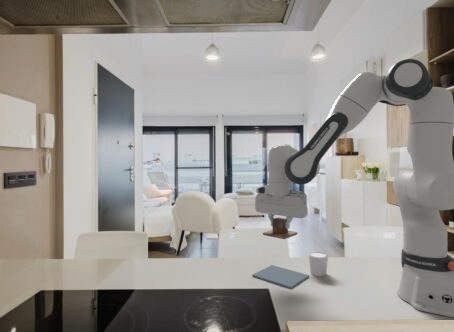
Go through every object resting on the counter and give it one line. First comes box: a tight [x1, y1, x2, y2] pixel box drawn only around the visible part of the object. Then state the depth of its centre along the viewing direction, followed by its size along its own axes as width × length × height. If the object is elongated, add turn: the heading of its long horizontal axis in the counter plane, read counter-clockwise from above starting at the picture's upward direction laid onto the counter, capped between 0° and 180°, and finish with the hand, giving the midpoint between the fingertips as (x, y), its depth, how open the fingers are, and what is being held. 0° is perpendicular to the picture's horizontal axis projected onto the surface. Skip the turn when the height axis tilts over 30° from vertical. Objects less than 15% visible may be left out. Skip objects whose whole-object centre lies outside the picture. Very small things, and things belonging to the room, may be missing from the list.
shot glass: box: [308, 251, 329, 277], centre depth 109 cm, size 7×7×7 cm
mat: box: [252, 264, 310, 289], centre depth 106 cm, size 16×13×1 cm
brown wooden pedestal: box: [262, 216, 298, 240], centre depth 106 cm, size 9×9×6 cm
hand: (280, 227), depth 106 cm, fingers closed on brown wooden pedestal, 4 cm apart
